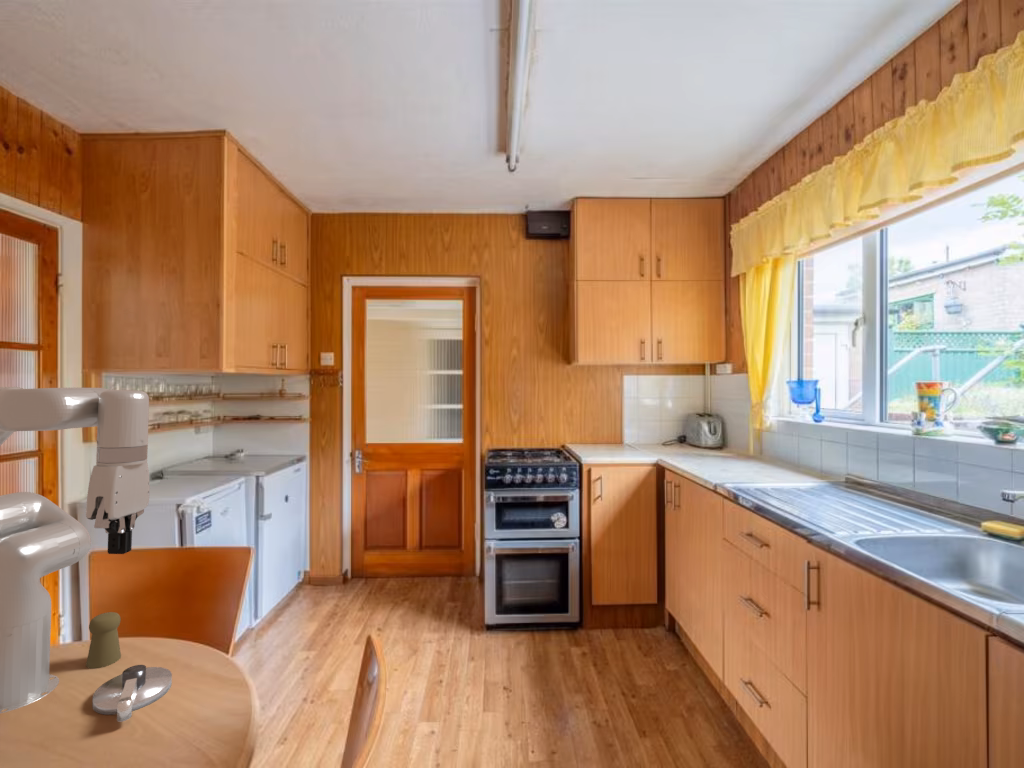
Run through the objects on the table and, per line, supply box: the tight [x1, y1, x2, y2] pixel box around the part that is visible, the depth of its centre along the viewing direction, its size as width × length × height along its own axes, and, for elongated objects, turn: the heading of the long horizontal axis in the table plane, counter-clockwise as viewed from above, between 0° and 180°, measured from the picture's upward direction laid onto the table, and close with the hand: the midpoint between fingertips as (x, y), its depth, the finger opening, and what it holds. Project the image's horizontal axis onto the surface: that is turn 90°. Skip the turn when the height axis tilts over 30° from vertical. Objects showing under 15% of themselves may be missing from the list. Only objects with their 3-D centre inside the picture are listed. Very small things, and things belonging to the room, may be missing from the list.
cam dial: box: [92, 664, 173, 723], centre depth 91 cm, size 17×12×4 cm
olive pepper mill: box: [86, 611, 122, 670], centre depth 104 cm, size 6×6×11 cm
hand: (119, 552), depth 91 cm, fingers closed
